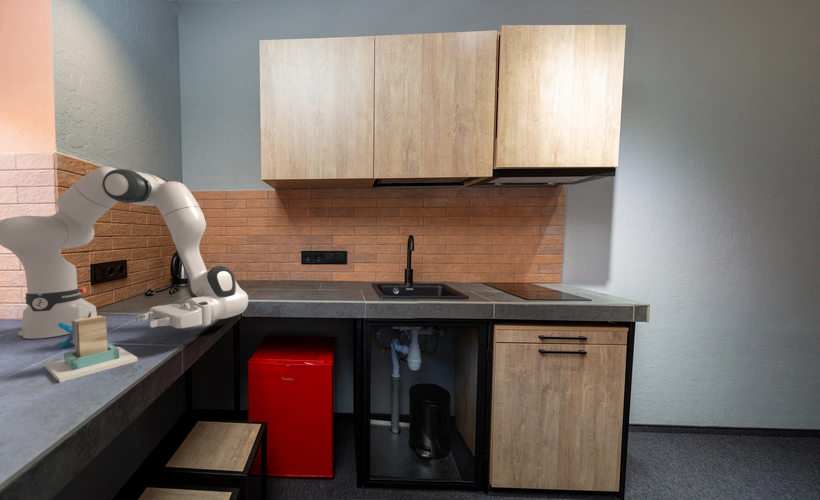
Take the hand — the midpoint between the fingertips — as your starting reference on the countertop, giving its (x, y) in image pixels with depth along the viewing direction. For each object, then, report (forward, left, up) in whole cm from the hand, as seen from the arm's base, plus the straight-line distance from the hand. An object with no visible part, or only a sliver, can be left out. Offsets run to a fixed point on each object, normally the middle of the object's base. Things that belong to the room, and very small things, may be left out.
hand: (142, 321), depth 89 cm
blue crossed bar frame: (-12, -21, -9) cm, 26 cm away
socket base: (+7, -8, -9) cm, 14 cm away
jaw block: (+7, -8, -8) cm, 13 cm away
